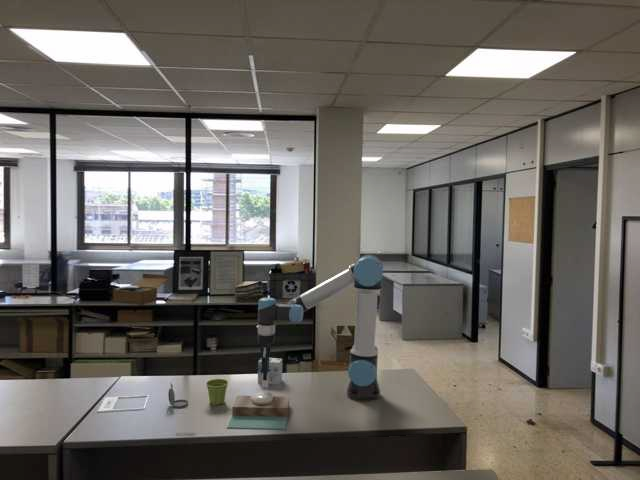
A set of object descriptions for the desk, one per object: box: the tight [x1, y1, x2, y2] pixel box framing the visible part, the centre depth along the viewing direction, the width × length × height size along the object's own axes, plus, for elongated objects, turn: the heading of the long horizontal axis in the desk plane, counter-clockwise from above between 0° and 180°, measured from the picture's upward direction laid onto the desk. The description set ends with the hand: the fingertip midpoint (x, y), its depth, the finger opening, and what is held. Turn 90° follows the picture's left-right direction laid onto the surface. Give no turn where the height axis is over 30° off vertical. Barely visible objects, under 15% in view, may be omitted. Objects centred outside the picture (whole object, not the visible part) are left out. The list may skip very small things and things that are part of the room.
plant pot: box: [205, 378, 229, 406], centre depth 207 cm, size 9×9×9 cm
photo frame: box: [97, 394, 150, 413], centre depth 204 cm, size 15×1×18 cm
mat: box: [226, 415, 288, 431], centre depth 188 cm, size 22×10×1 cm, turn 90°
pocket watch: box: [167, 382, 189, 408], centre depth 203 cm, size 8×8×10 cm
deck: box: [231, 394, 290, 418], centre depth 199 cm, size 22×12×4 cm, turn 90°
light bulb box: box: [257, 357, 283, 385], centre depth 234 cm, size 11×7×11 cm, turn 81°
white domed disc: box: [250, 391, 274, 405], centre depth 201 cm, size 9×9×2 cm
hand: (264, 386), depth 212 cm, fingers closed
